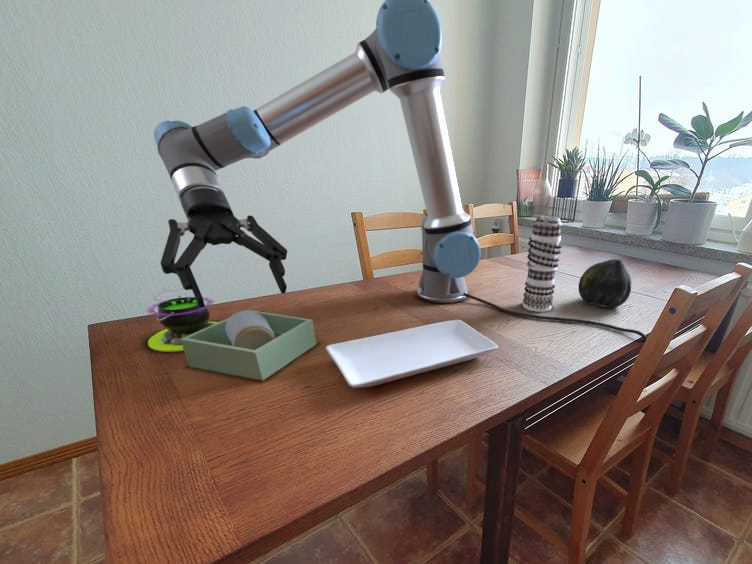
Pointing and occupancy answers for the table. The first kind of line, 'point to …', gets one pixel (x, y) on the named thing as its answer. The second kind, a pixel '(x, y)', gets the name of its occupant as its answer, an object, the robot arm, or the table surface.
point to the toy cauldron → (178, 322)
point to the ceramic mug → (249, 330)
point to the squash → (606, 284)
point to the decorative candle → (542, 263)
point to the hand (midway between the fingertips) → (245, 296)
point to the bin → (221, 356)
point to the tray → (408, 352)
